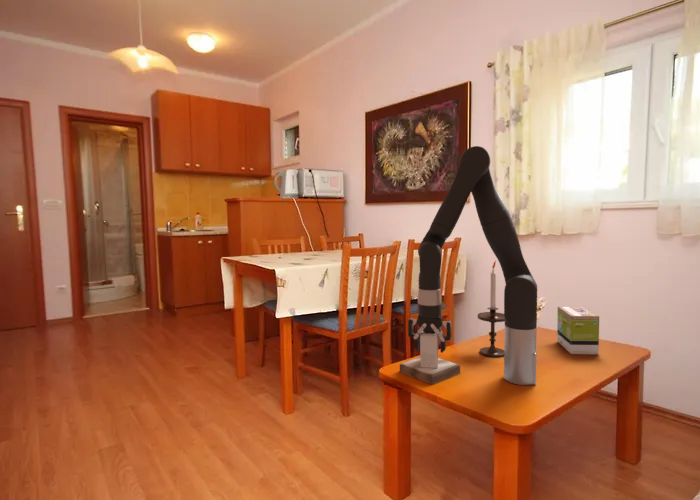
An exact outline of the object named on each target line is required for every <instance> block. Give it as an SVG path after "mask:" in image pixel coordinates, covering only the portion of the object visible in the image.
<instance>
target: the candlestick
mask: <svg viewBox="0 0 700 500" xmlns="http://www.w3.org/2000/svg"><path fill="white" fill-rule="evenodd" d="M496 262H497V260H495V261H494V262H493V265H492V266H491V267H492V270H491V272H490V291H489V292H490V294H489V295H490V297H489V298H490V299H489V300H490V301H489V304H490V306H489V307H487V308H486V309H487V310H489V311H487V312H485V311H484V312H479V313H477V319H479V320H481V321H484V322H488V323H490V331H489V332H488V335H489V337H490V338H489V342H490V346H485V347H481V348H480V349H479V354H480V355H482V356H483V357H486V358H487V357H488V358H504V349H503V348H499V347H496V346H495V342H497V340H496V336H497V332H496V331H495V326H496V325H495V324H496V323H503V322H504V323H505V318H504V312H503V313H502V312H497V310H499V308H498V307H497V305H496V303H497V302H496V301H497V299H496V296H497V295H496V294H497V293H496V291H497V289H496V288H497V273H496V272H495V267H496Z"/></svg>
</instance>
